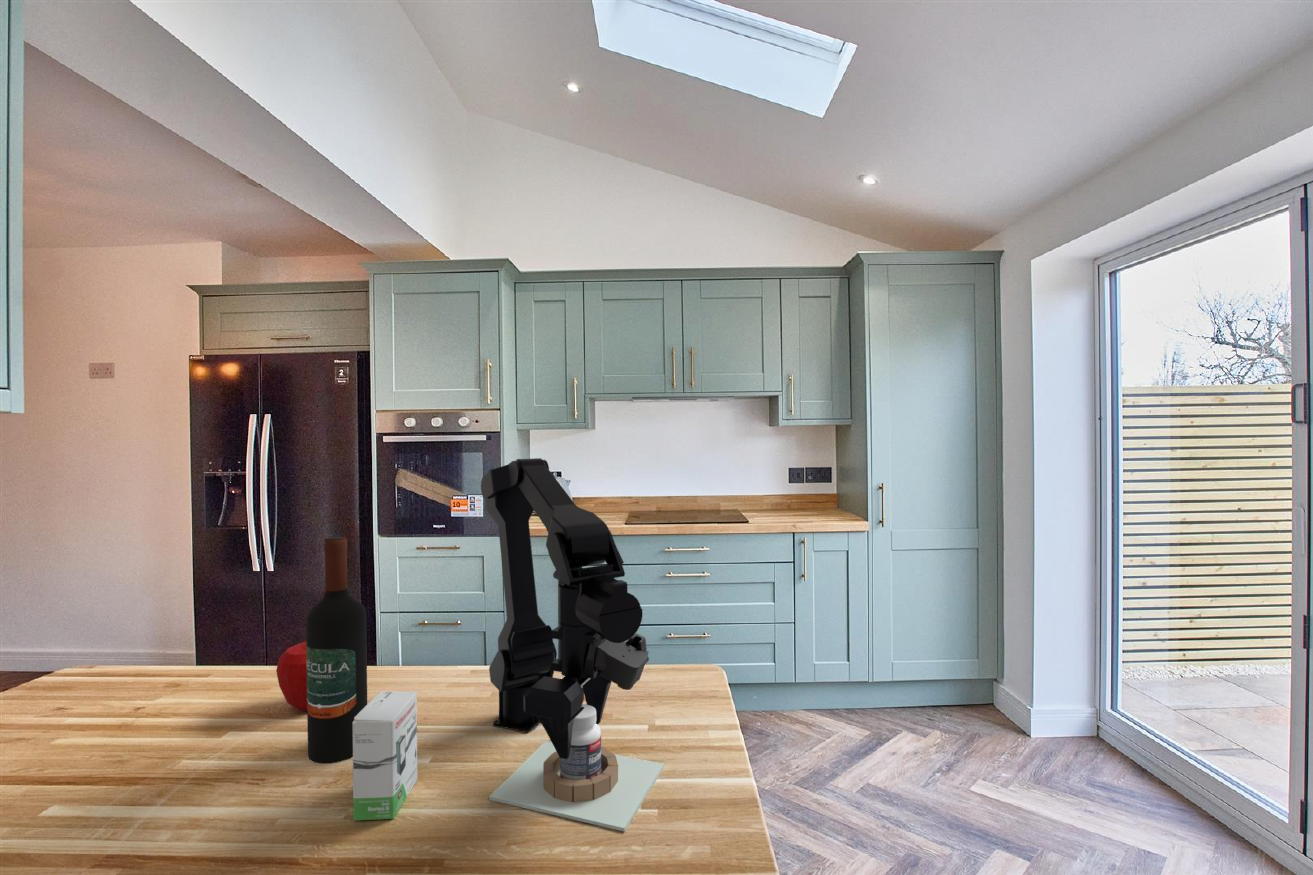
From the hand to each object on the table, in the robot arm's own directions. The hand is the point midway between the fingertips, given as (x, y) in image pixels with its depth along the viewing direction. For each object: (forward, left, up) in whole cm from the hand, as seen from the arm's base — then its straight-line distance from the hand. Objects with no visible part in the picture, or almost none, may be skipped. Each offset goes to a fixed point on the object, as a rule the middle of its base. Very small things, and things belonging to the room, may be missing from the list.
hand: (581, 739), depth 80 cm
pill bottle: (0, 0, -5) cm, 5 cm away
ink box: (-21, -11, -6) cm, 24 cm away
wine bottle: (-36, -4, -6) cm, 37 cm away
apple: (-51, +5, -6) cm, 52 cm away
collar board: (0, 0, -6) cm, 6 cm away
